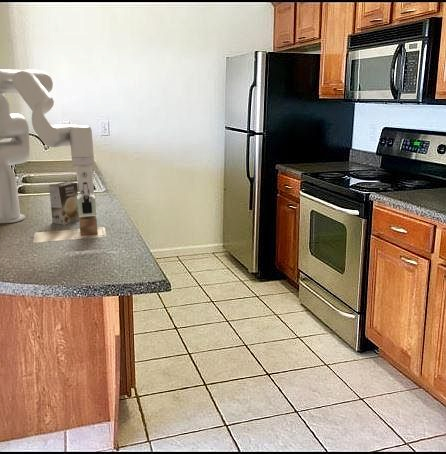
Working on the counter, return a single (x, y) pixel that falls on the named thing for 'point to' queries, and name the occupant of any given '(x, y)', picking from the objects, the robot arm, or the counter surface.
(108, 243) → the counter surface
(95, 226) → the walnut block
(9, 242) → the counter surface
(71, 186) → the coffee box
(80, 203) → the sage block
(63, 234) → the board
